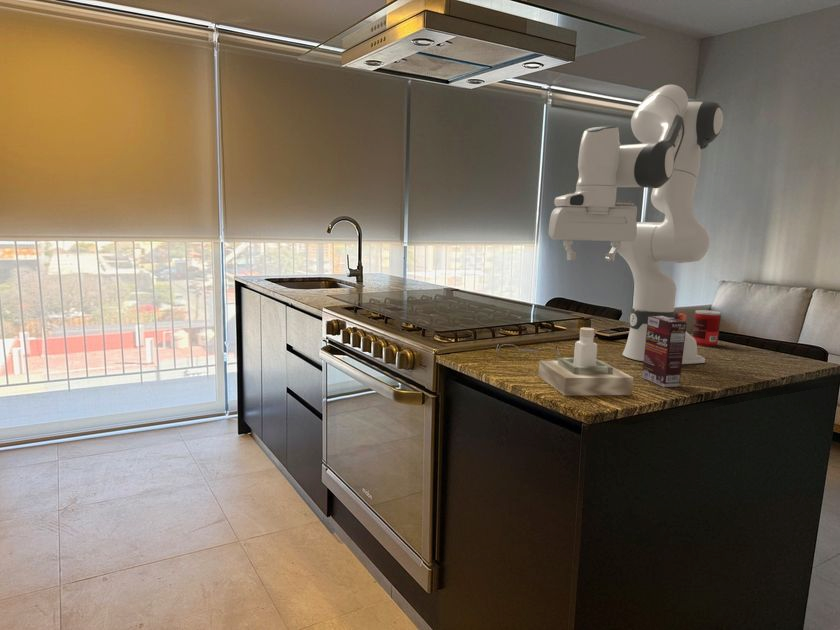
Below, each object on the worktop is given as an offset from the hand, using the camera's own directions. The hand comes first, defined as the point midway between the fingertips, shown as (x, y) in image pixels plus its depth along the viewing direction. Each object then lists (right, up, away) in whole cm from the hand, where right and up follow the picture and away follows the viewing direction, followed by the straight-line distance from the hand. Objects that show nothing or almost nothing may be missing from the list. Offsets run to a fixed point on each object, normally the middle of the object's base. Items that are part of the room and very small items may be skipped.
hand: (590, 260), depth 134 cm
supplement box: (+19, -29, +8) cm, 36 cm away
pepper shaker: (-1, -25, +2) cm, 25 cm away
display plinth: (-1, -29, +3) cm, 29 cm away
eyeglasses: (-8, -24, +38) cm, 46 cm away
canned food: (+56, -22, +60) cm, 85 cm away
